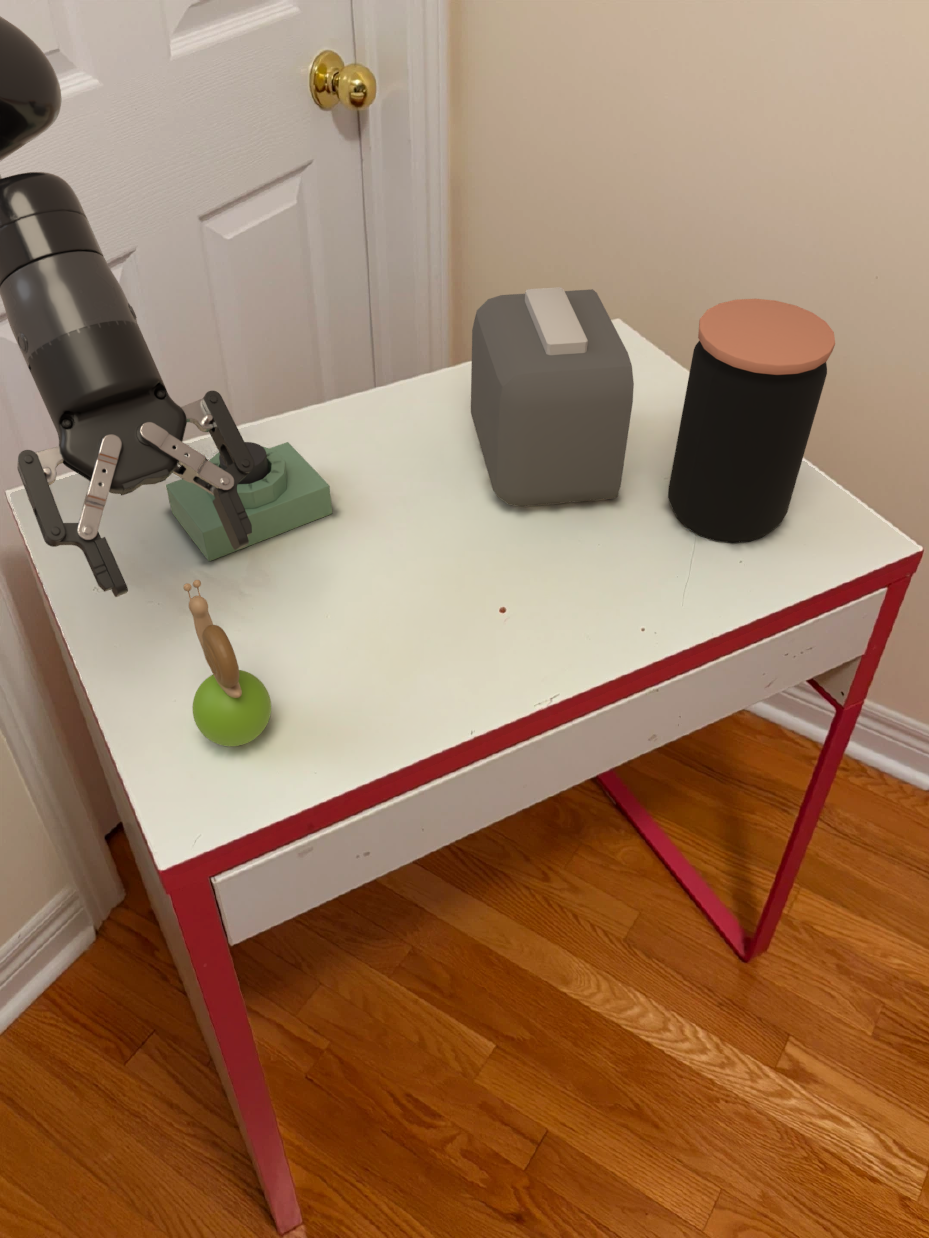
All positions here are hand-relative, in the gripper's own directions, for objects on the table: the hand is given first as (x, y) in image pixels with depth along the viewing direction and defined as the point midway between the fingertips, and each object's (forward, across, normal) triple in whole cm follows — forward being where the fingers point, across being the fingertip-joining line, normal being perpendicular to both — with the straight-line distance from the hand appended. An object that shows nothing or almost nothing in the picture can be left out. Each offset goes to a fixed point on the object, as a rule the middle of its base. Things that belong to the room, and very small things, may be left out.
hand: (183, 570), depth 70 cm
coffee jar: (+12, -48, -6) cm, 50 cm away
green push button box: (-4, -12, -22) cm, 25 cm away
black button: (-7, -12, -19) cm, 23 cm away
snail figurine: (+12, 0, -6) cm, 13 cm away
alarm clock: (+2, -38, -16) cm, 41 cm away
